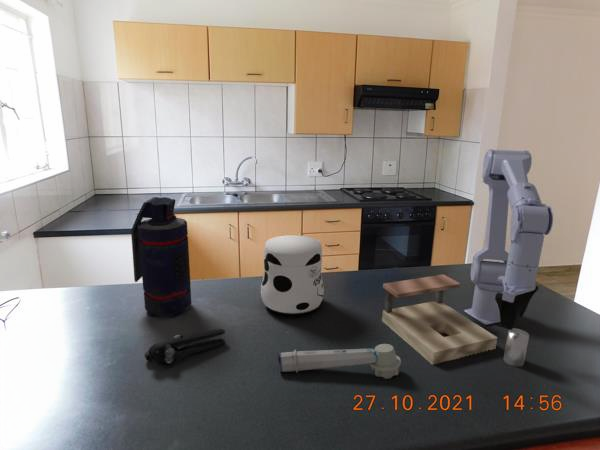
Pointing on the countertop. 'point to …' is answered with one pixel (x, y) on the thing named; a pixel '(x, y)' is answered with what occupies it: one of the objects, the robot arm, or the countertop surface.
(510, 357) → the steel peg
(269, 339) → the countertop surface
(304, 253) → the milk container
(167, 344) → the can opener
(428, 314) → the socket block
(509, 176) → the robot arm
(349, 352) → the toothbrush head
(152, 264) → the grenade
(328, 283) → the countertop surface
